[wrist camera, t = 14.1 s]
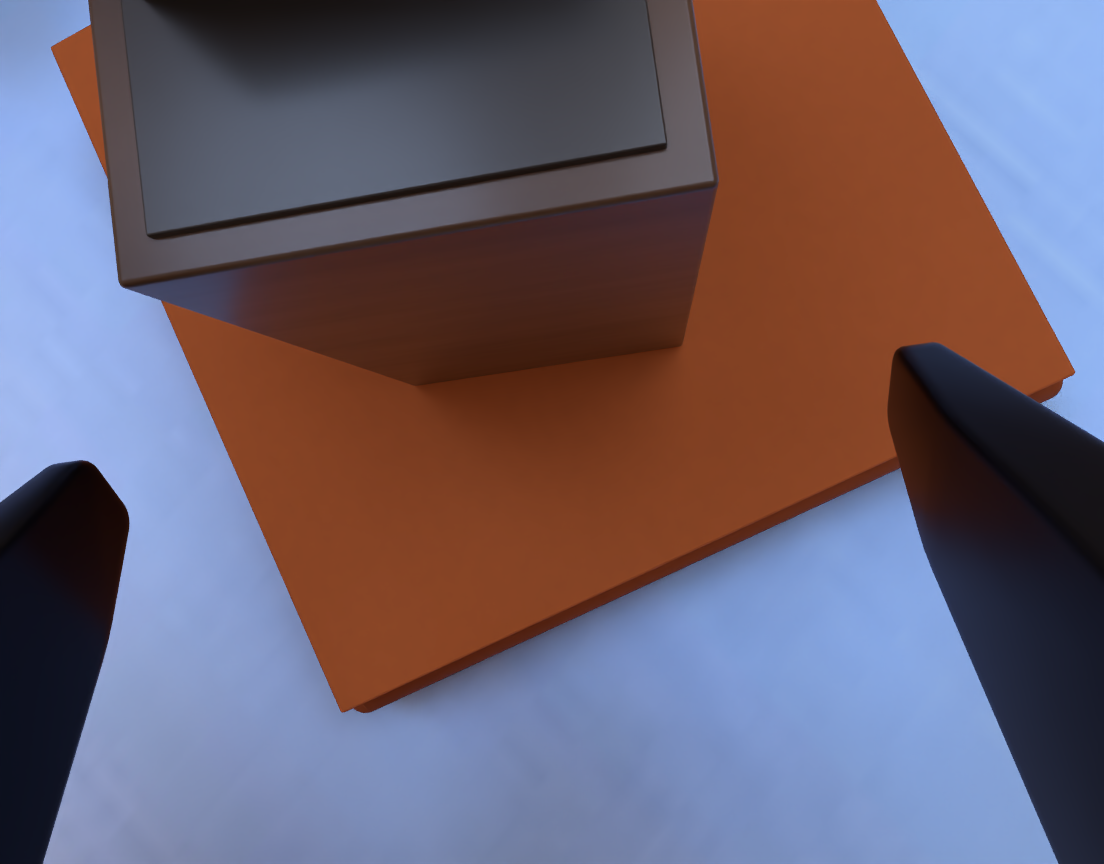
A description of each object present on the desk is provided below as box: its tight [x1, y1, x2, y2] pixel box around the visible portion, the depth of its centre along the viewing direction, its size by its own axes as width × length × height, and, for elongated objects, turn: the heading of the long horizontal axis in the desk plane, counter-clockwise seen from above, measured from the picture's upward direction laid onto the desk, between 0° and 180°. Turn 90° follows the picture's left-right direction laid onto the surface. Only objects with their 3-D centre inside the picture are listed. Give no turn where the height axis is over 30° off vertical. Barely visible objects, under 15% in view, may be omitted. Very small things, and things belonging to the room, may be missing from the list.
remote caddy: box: [88, 0, 719, 386], centre depth 12 cm, size 7×6×12 cm
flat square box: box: [51, 0, 1075, 713], centre depth 19 cm, size 17×17×3 cm
